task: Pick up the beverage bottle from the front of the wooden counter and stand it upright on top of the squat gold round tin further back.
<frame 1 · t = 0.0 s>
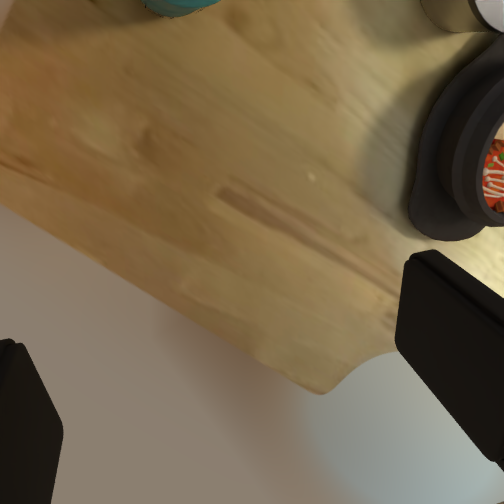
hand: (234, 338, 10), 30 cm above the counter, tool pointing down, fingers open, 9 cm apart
casserole: (480, 134, 45), on the counter
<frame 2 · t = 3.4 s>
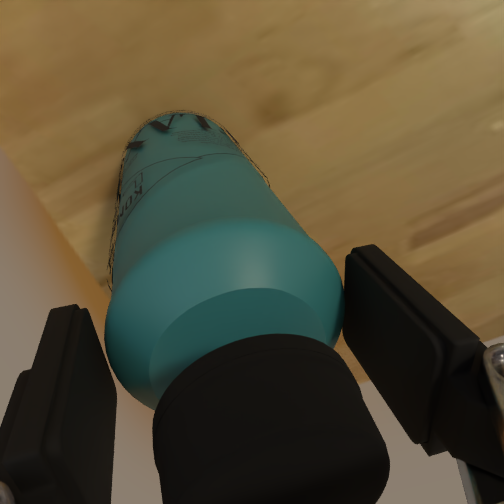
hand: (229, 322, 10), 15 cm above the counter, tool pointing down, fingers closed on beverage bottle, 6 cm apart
beverage bottle: (179, 162, 23), on the counter, touching gripper
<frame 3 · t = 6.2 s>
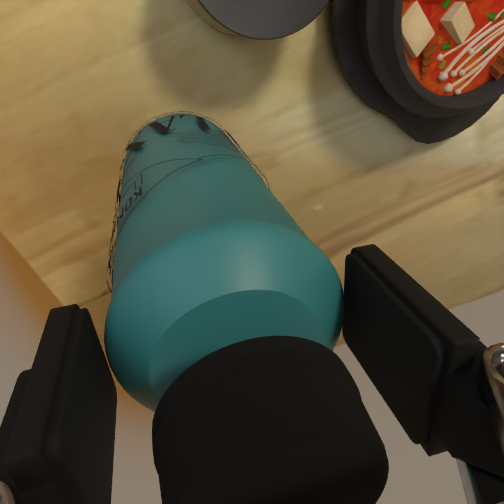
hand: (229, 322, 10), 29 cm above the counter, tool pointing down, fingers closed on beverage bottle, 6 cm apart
casserole: (417, 9, 36), on the counter
beverage bottle: (179, 163, 23), point 14 cm above the counter, touching gripper
when the fingers open (22 cm above the counter, at t = 9.5 s): beverage bottle stays where it is, resting on gold round tin.
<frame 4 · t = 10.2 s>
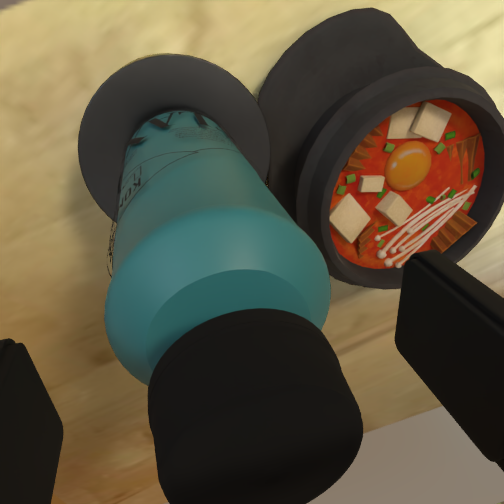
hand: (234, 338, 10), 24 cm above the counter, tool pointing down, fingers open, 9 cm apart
casserole: (362, 166, 35), on the counter
beverage bottle: (178, 159, 24), point 7 cm above the counter, touching gold round tin
gold round tin: (172, 134, 30), on the counter
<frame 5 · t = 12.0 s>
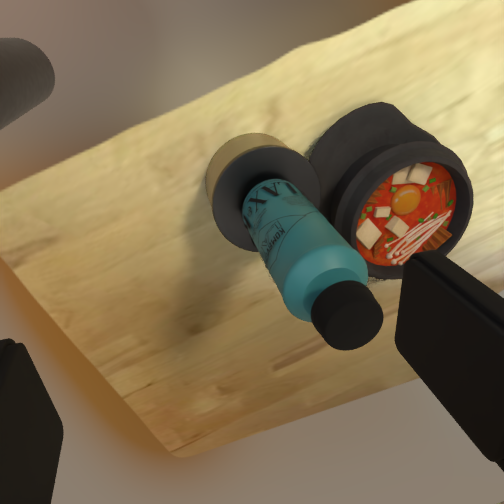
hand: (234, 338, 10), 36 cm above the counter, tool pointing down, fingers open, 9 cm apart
casserole: (375, 195, 51), on the counter
beverage bottle: (266, 202, 41), point 7 cm above the counter, touching gold round tin
gold round tin: (252, 181, 46), on the counter
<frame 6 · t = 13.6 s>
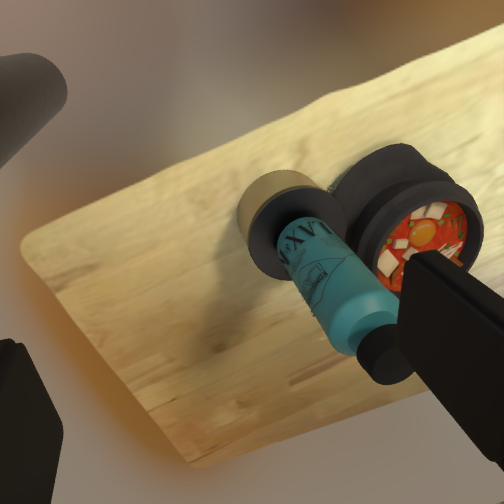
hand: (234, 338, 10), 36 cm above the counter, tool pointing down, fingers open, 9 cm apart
casserole: (391, 225, 55), on the counter
beverage bottle: (297, 236, 44), point 7 cm above the counter, touching gold round tin
gold round tin: (279, 212, 50), on the counter
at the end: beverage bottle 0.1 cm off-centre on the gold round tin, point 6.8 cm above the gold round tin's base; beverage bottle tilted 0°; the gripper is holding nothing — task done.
